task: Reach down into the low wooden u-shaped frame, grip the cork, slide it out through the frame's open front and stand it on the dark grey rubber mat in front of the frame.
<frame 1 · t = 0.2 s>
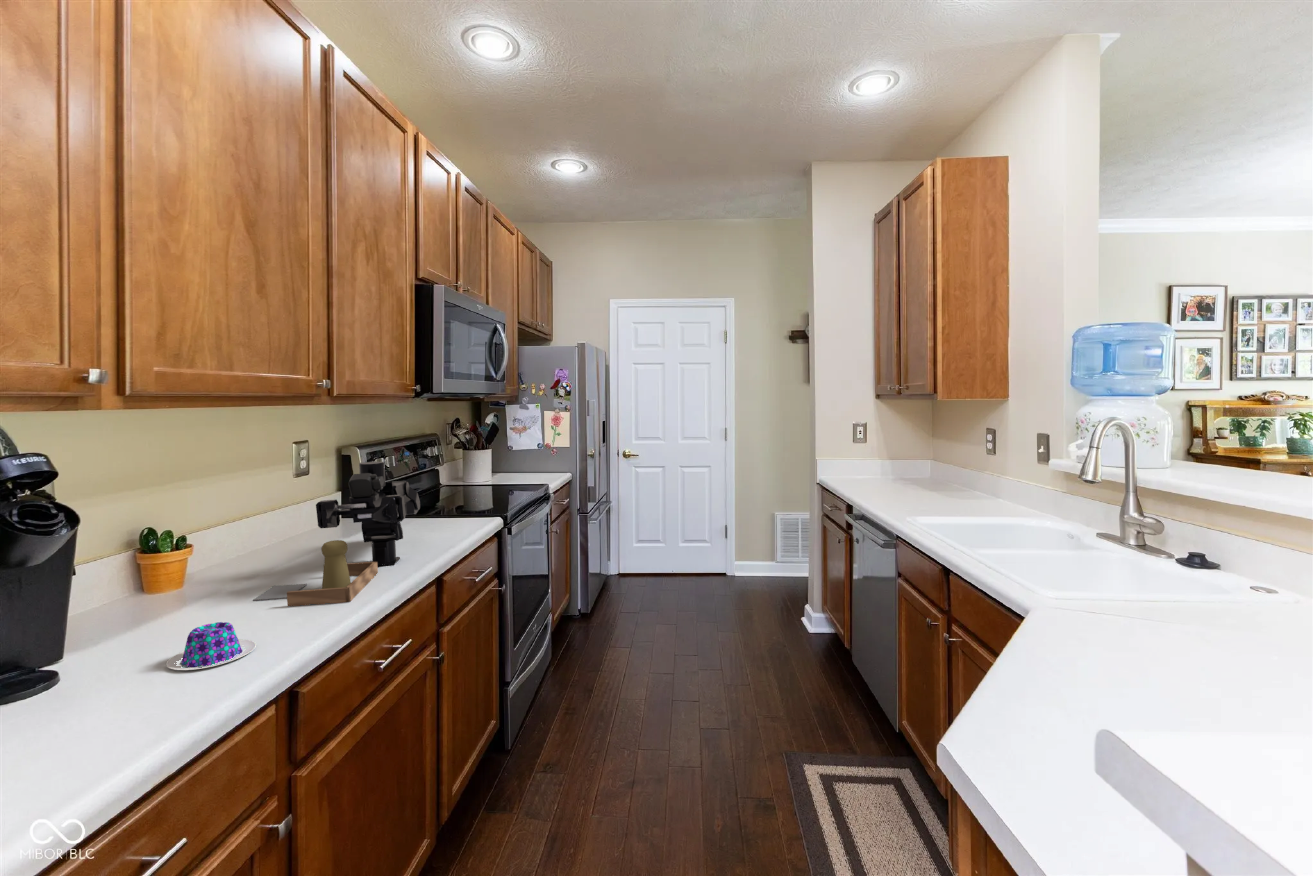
hand: (350, 519, 130), 17 cm above the counter, tool horizontal, fingers open, 9 cm apart
cork: (336, 589, 134), on the counter
grey mat: (281, 592, 132), on the counter
wooden u-shaped frame: (336, 588, 134), on the counter
patterned hat: (213, 659, 98), on the counter
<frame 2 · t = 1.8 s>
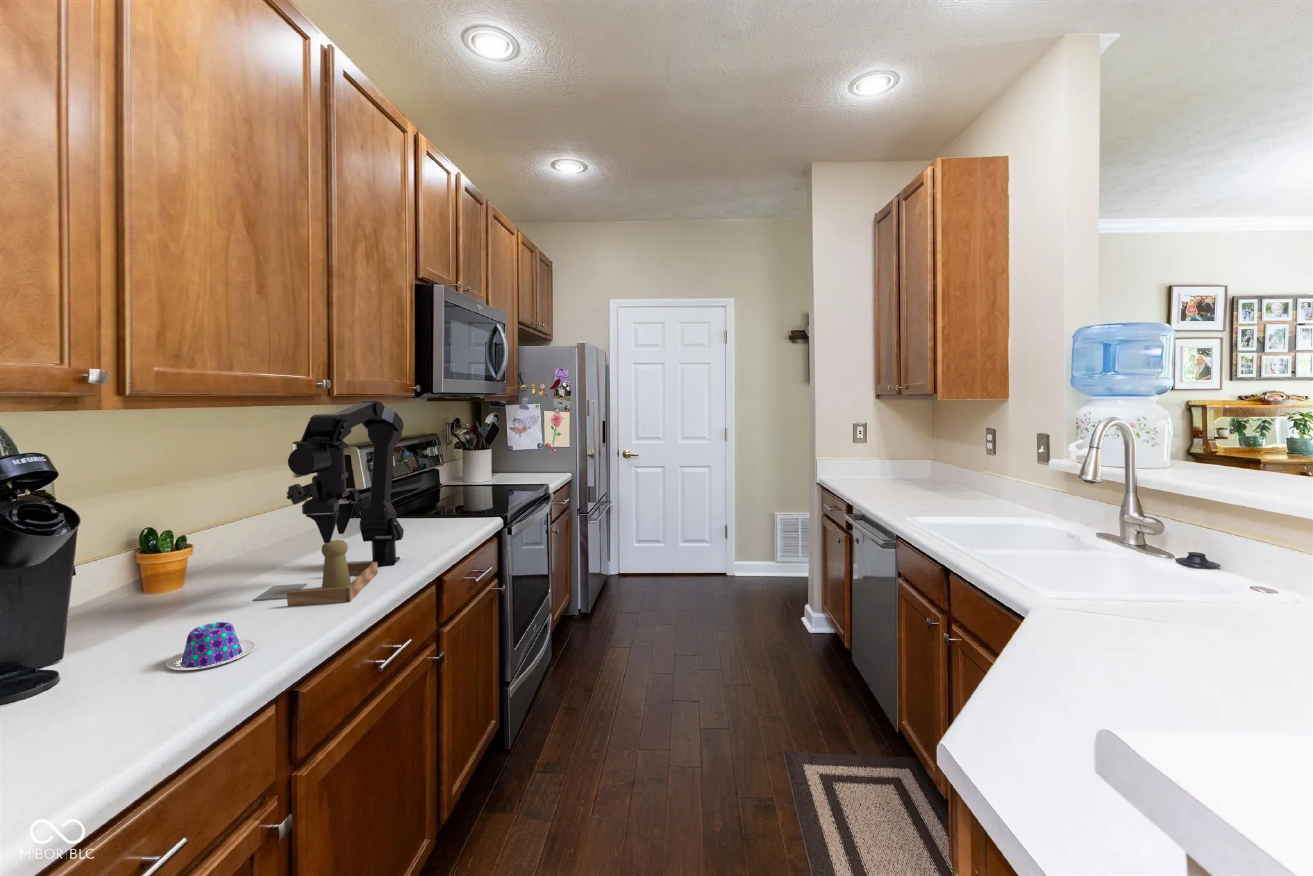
hand: (334, 538, 133), 12 cm above the counter, tool pointing down, fingers open, 9 cm apart
nothing on the counter moved.
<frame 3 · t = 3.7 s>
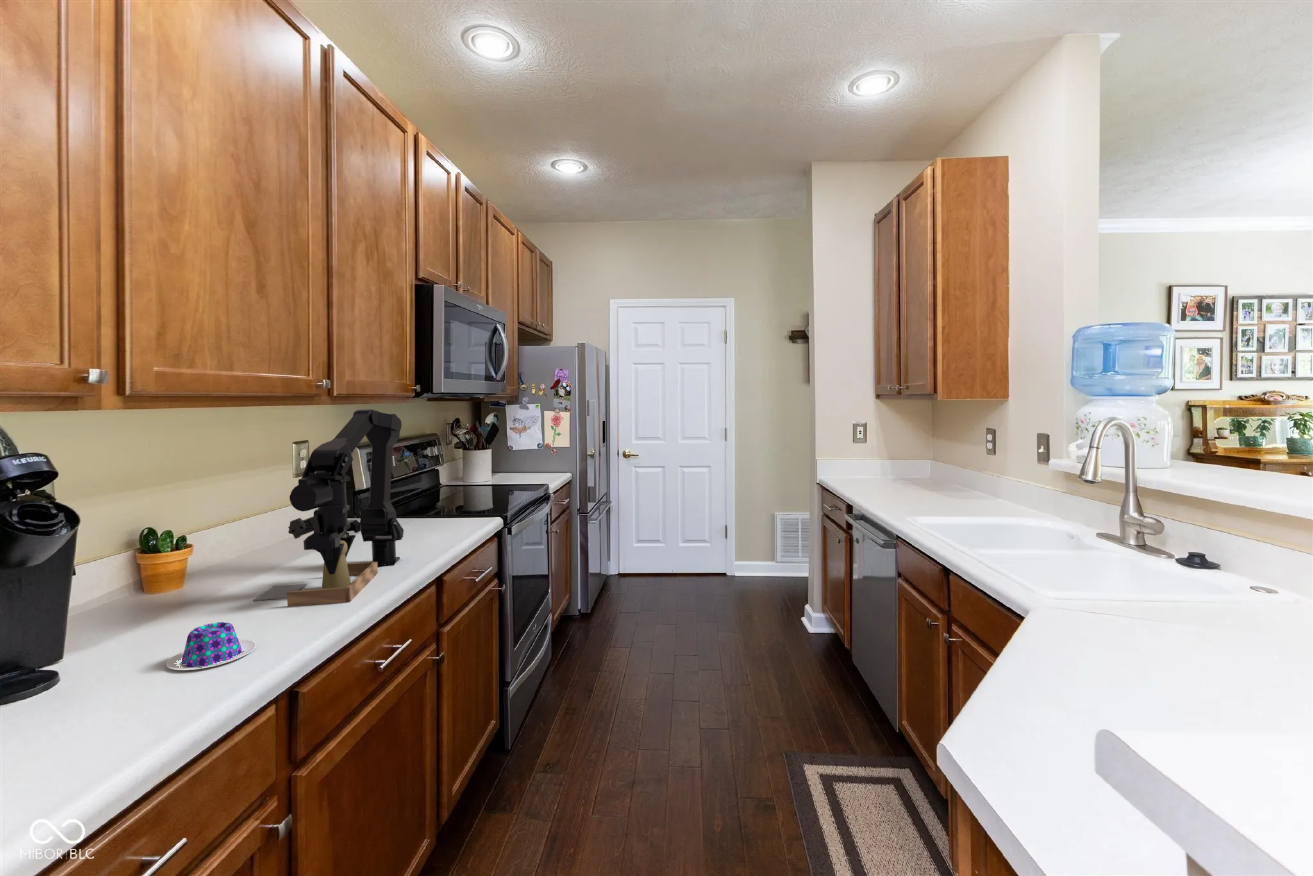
hand: (335, 571, 134), 4 cm above the counter, tool pointing down, fingers closed on cork, 4 cm apart
cork: (336, 589, 134), on the counter, touching gripper
everything else where it was.
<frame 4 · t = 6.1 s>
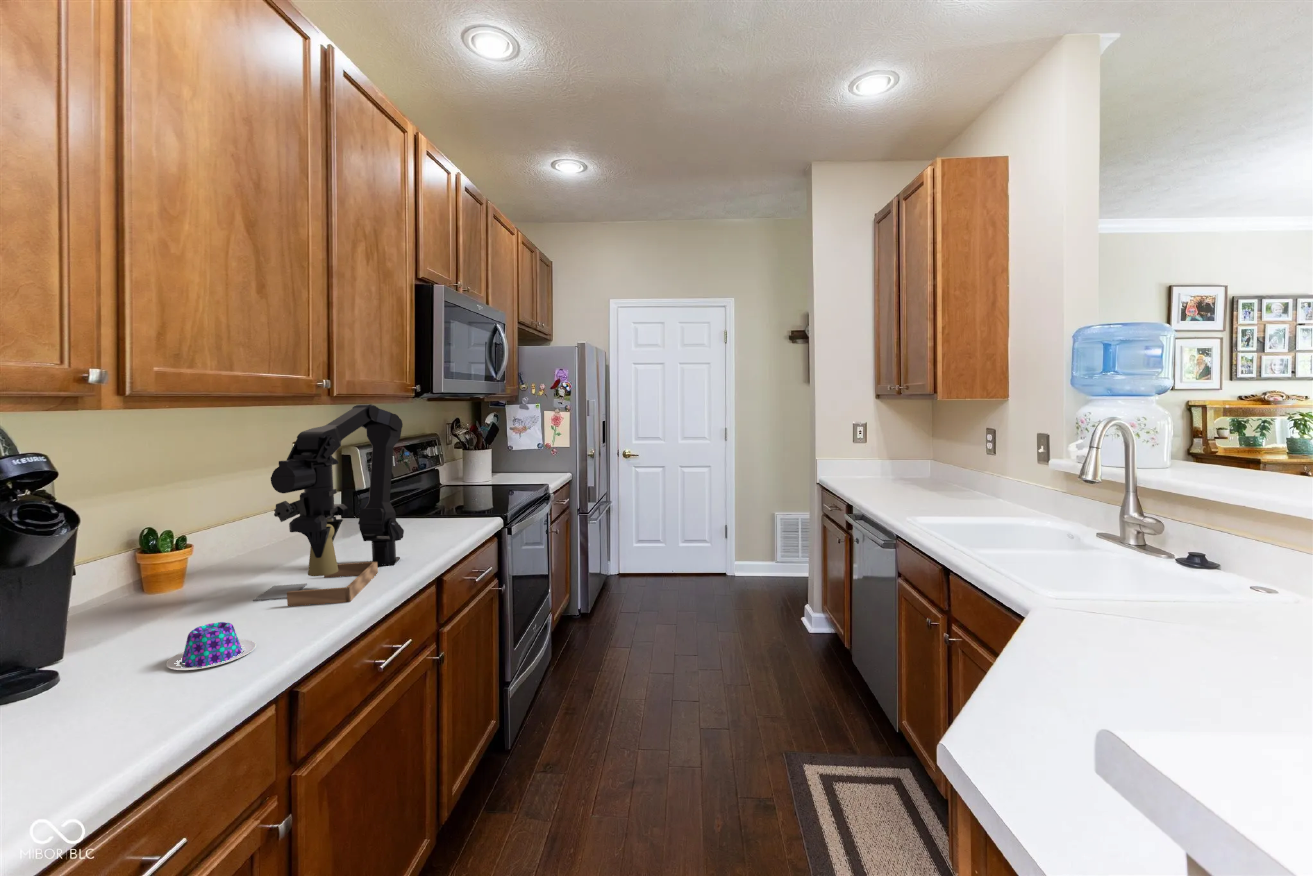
hand: (322, 554, 133), 8 cm above the counter, tool pointing down, fingers closed on cork, 4 cm apart
cork: (323, 573, 133), point 4 cm above the counter, touching gripper
everything else where it was.
when the fingers open (5 cm above the counter, at t = 9.0 s): cork stays where it is, resting on grey mat.
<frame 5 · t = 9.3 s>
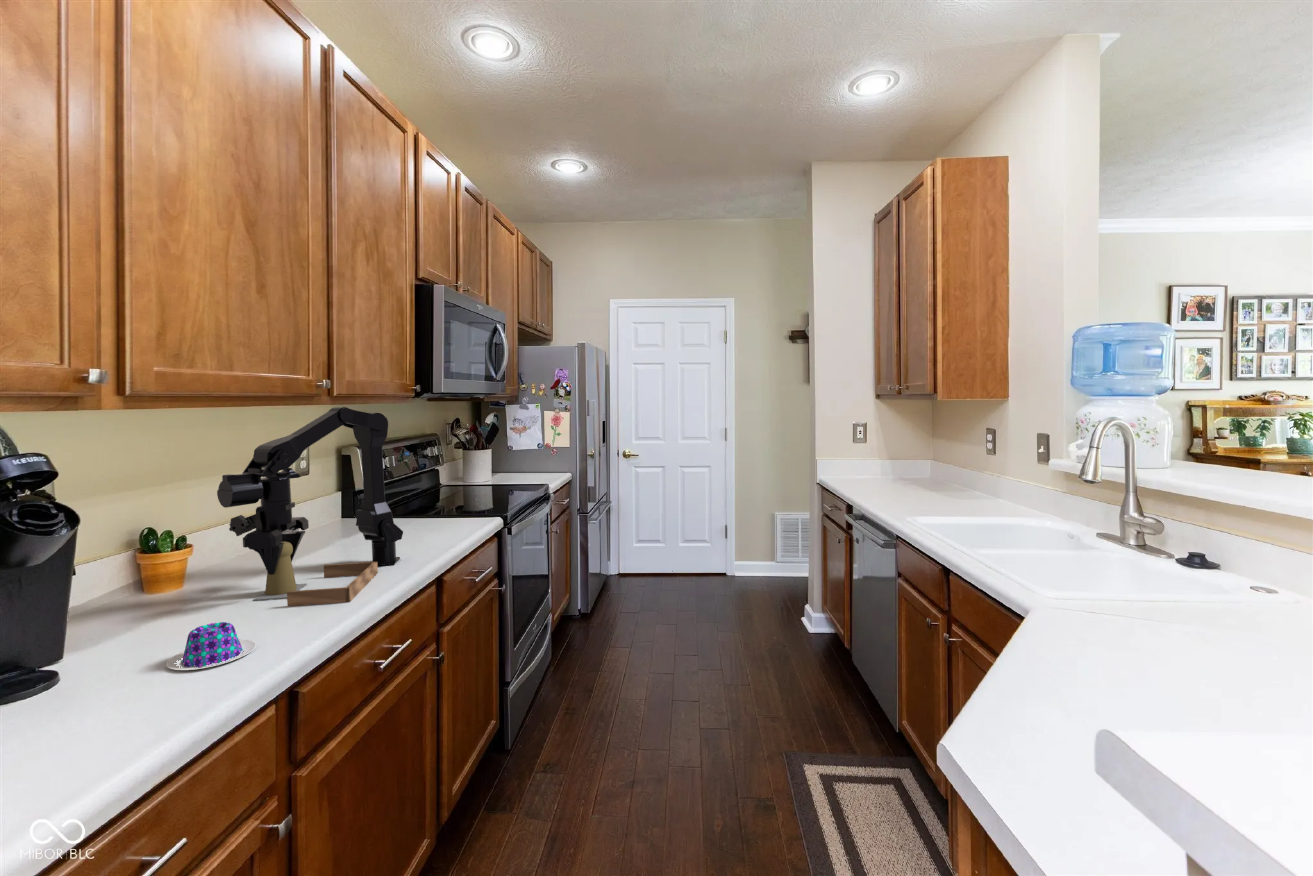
hand: (280, 569, 132), 5 cm above the counter, tool pointing down, fingers open, 8 cm apart
cork: (281, 591, 132), resting on grey mat
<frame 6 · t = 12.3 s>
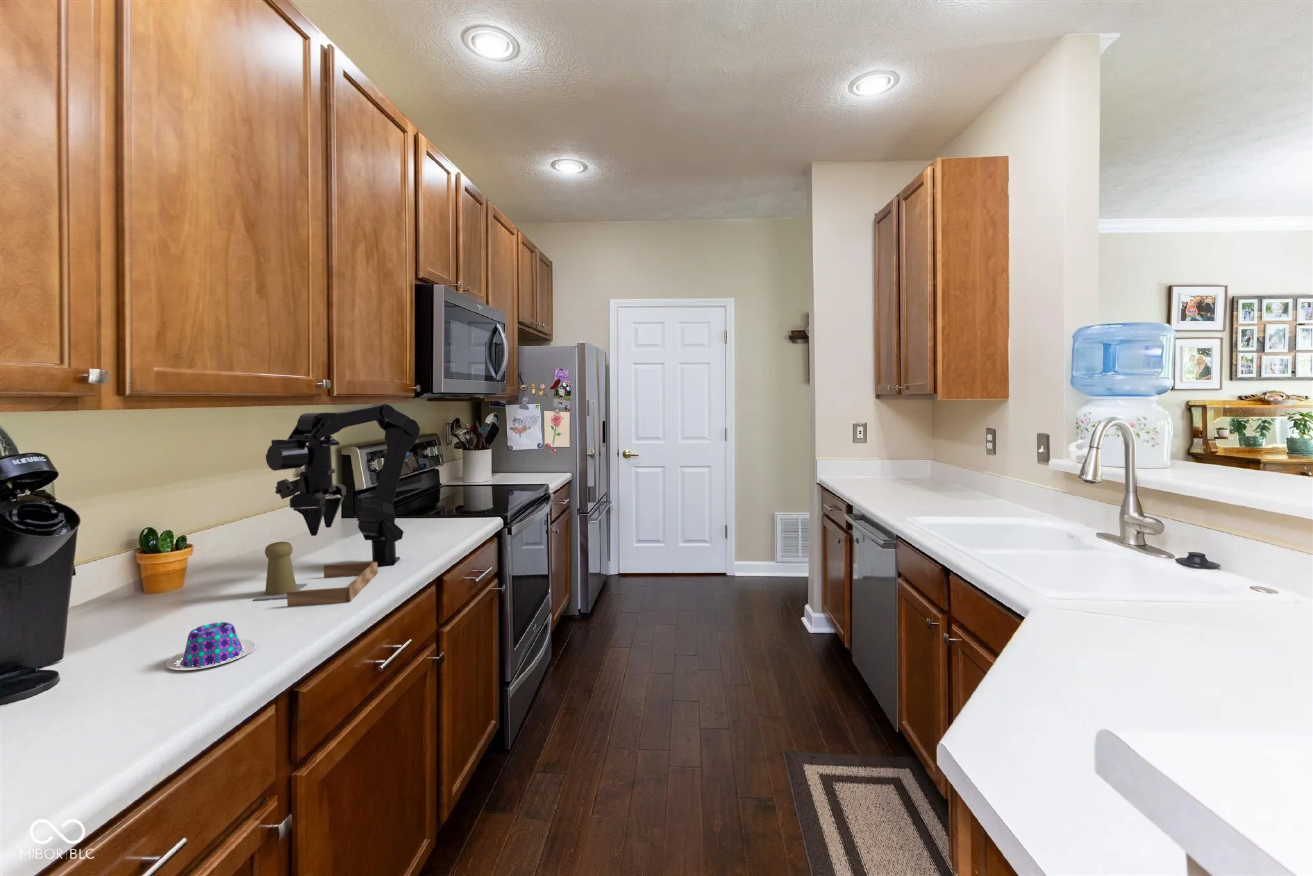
hand: (321, 531, 139), 12 cm above the counter, tool pointing down, fingers open, 9 cm apart
at the end: cork inside the target area (0.5 cm from its centre), resting on grey mat; cork tilted 0°; the gripper is holding nothing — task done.
